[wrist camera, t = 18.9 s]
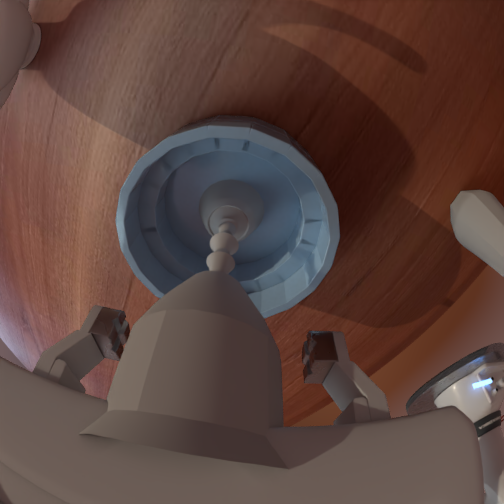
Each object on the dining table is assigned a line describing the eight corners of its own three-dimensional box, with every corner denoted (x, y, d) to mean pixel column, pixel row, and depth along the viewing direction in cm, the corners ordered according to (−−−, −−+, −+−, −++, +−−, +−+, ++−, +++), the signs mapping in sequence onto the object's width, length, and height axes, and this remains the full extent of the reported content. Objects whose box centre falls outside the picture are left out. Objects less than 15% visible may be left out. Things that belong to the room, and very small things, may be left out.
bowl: (337, 127, 18) (363, 144, 13) (304, 282, 26) (311, 326, 22) (140, 114, 18) (104, 128, 13) (153, 269, 26) (135, 310, 21)
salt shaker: (490, 187, 19) (575, 265, 8) (472, 235, 22) (541, 323, 12) (453, 175, 19) (551, 263, 8) (435, 230, 22) (509, 332, 12)
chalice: (177, 232, 23) (94, 455, 8) (197, 155, 19) (50, 405, 4) (260, 257, 24) (257, 489, 9) (292, 187, 20) (348, 462, 5)
